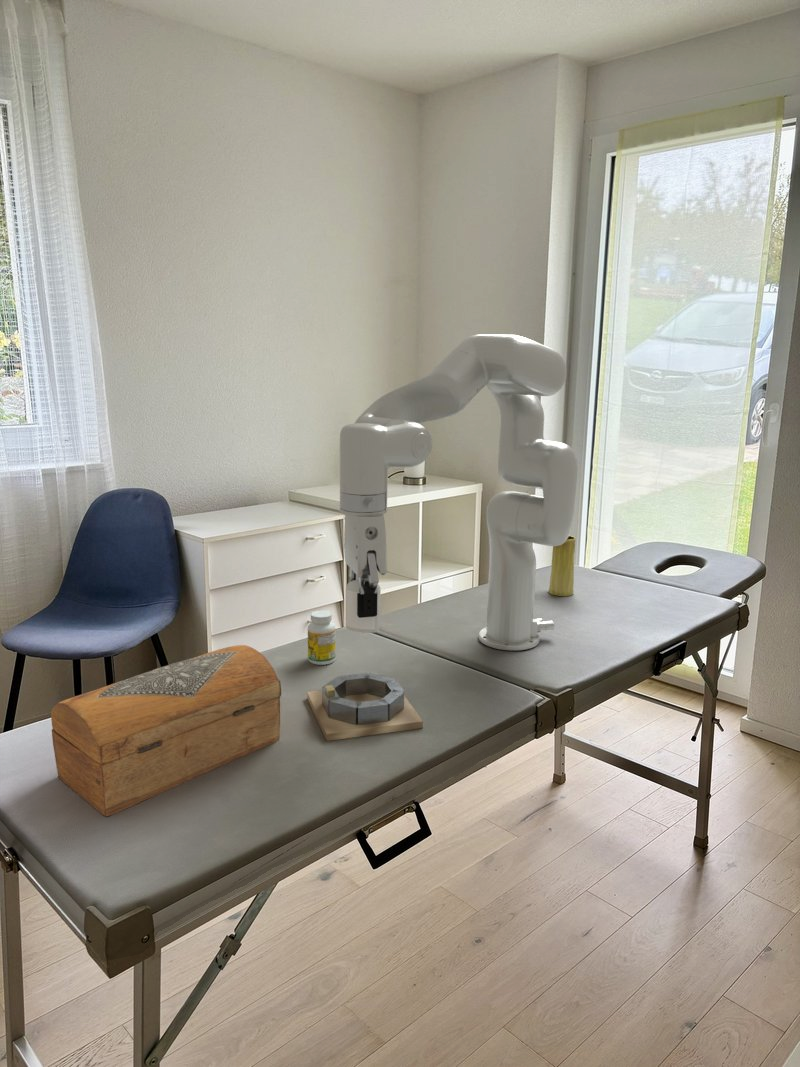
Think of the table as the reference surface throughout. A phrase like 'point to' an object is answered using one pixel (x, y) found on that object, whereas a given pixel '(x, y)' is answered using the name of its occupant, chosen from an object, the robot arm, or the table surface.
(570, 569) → the vase
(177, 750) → the wooden box
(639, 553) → the table surface
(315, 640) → the supplement bottle
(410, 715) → the square wooden board
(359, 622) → the eye dropper bottle
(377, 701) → the gray octagonal ring
